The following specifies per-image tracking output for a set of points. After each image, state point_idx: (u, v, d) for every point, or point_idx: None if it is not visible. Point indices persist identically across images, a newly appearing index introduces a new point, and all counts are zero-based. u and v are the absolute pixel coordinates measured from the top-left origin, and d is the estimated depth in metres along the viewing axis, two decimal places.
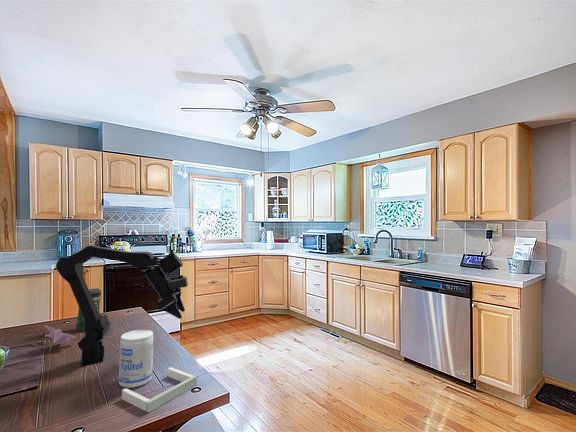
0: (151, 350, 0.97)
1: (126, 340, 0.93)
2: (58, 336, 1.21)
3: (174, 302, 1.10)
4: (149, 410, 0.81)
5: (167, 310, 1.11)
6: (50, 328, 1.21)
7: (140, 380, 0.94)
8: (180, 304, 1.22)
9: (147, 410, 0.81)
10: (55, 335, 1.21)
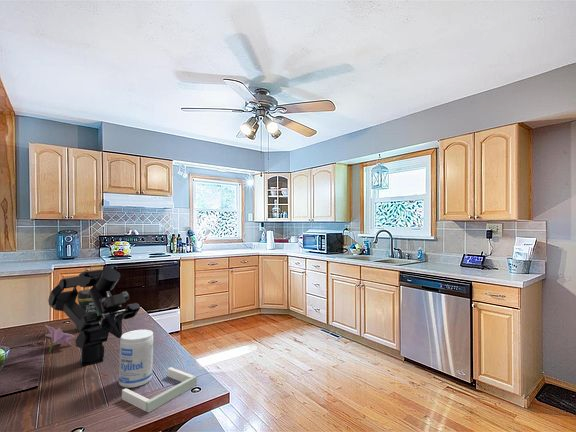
0: (151, 350, 0.97)
1: (126, 340, 0.93)
2: (58, 336, 1.22)
3: (104, 320, 1.01)
4: (149, 410, 0.81)
5: (106, 328, 1.03)
6: (50, 328, 1.22)
7: (140, 380, 0.94)
8: None
9: (147, 410, 0.81)
10: (55, 335, 1.21)
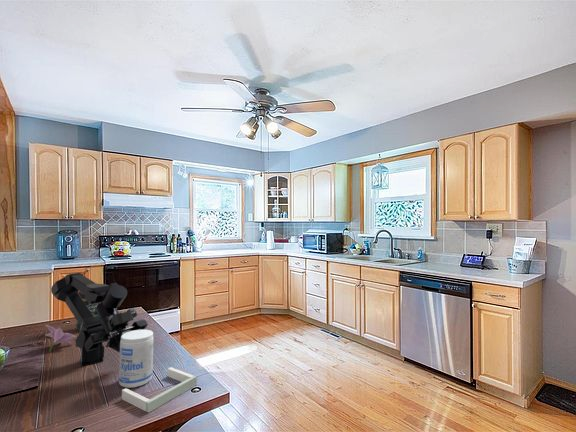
0: (151, 350, 0.97)
1: (126, 340, 0.93)
2: (59, 335, 1.22)
3: (111, 338, 0.98)
4: (149, 410, 0.81)
5: (113, 347, 1.01)
6: (50, 328, 1.22)
7: (141, 380, 0.94)
8: None
9: (147, 410, 0.81)
10: (56, 334, 1.22)
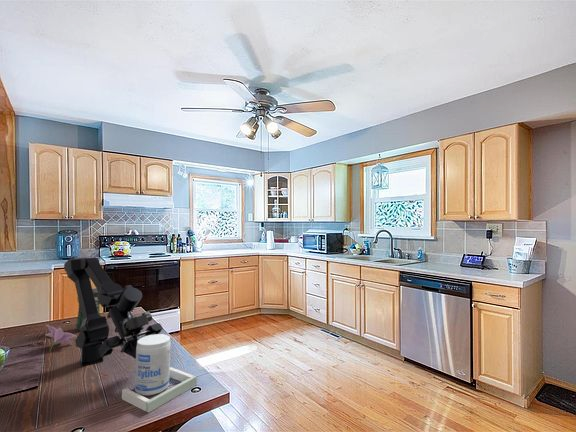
0: (169, 356, 0.93)
1: (143, 346, 0.89)
2: (59, 335, 1.22)
3: (127, 343, 0.94)
4: (149, 410, 0.81)
5: (128, 352, 0.96)
6: (51, 327, 1.22)
7: (158, 387, 0.89)
8: None
9: (147, 410, 0.81)
10: (56, 334, 1.22)
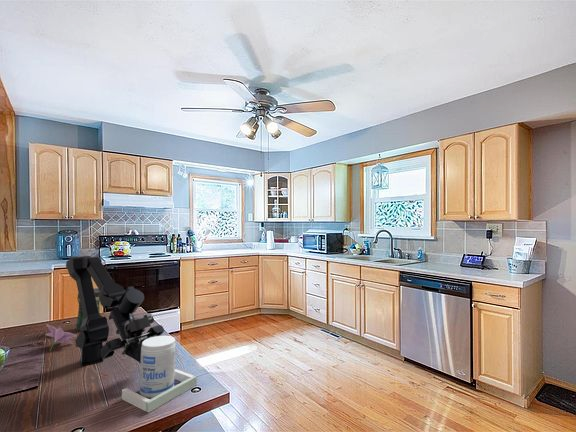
0: (174, 357, 0.92)
1: (148, 347, 0.88)
2: (59, 335, 1.22)
3: (128, 346, 0.94)
4: (149, 410, 0.81)
5: (129, 354, 0.96)
6: (51, 327, 1.22)
7: (164, 389, 0.88)
8: None
9: (147, 410, 0.81)
10: (56, 334, 1.22)
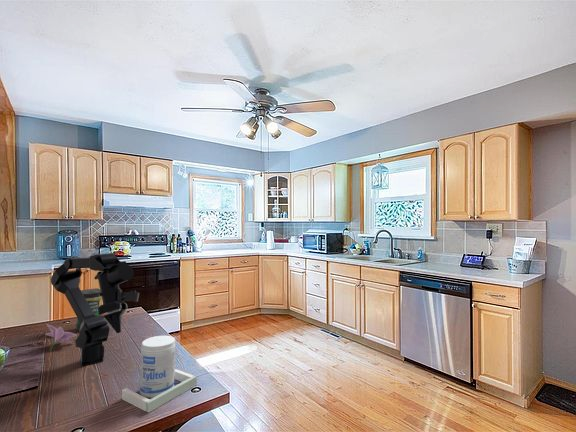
0: (174, 357, 0.92)
1: (148, 347, 0.88)
2: (59, 335, 1.23)
3: (120, 311, 1.04)
4: (149, 410, 0.81)
5: (108, 319, 1.03)
6: (51, 327, 1.23)
7: (164, 389, 0.88)
8: None
9: (147, 410, 0.81)
10: (56, 334, 1.23)
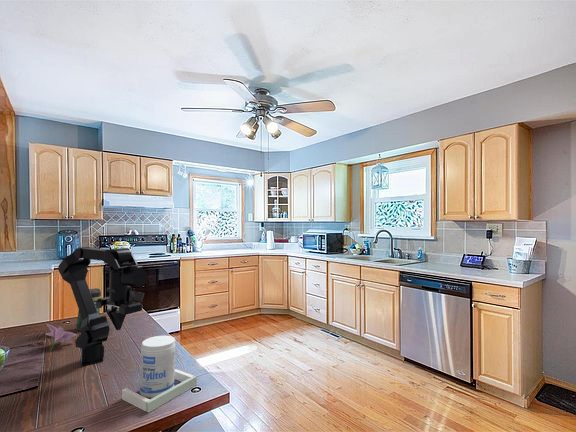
0: (174, 357, 0.92)
1: (148, 347, 0.88)
2: (59, 334, 1.23)
3: None
4: (149, 410, 0.81)
5: (116, 316, 1.04)
6: (51, 327, 1.23)
7: (164, 389, 0.88)
8: None
9: (147, 410, 0.81)
10: (56, 333, 1.23)
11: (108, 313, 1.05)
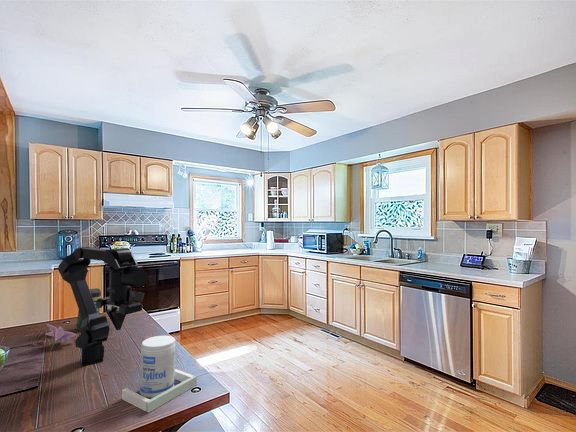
0: (174, 357, 0.92)
1: (148, 347, 0.88)
2: (60, 334, 1.23)
3: None
4: (149, 410, 0.81)
5: (116, 316, 1.04)
6: (51, 326, 1.23)
7: (164, 389, 0.88)
8: None
9: (147, 410, 0.81)
10: (56, 333, 1.23)
11: (108, 313, 1.05)
